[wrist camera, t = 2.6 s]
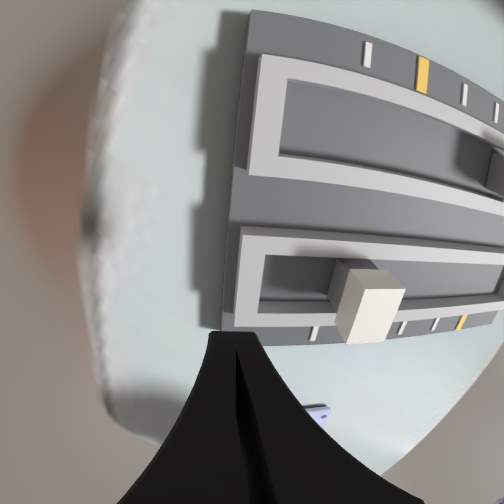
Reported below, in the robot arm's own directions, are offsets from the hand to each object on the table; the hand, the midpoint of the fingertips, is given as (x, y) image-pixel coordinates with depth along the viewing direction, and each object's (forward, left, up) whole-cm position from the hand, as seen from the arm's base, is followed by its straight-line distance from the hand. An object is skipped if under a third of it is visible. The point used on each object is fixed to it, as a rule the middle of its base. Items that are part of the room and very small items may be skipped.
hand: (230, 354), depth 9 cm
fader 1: (0, -6, -5) cm, 8 cm away
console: (+3, -11, -7) cm, 13 cm away
